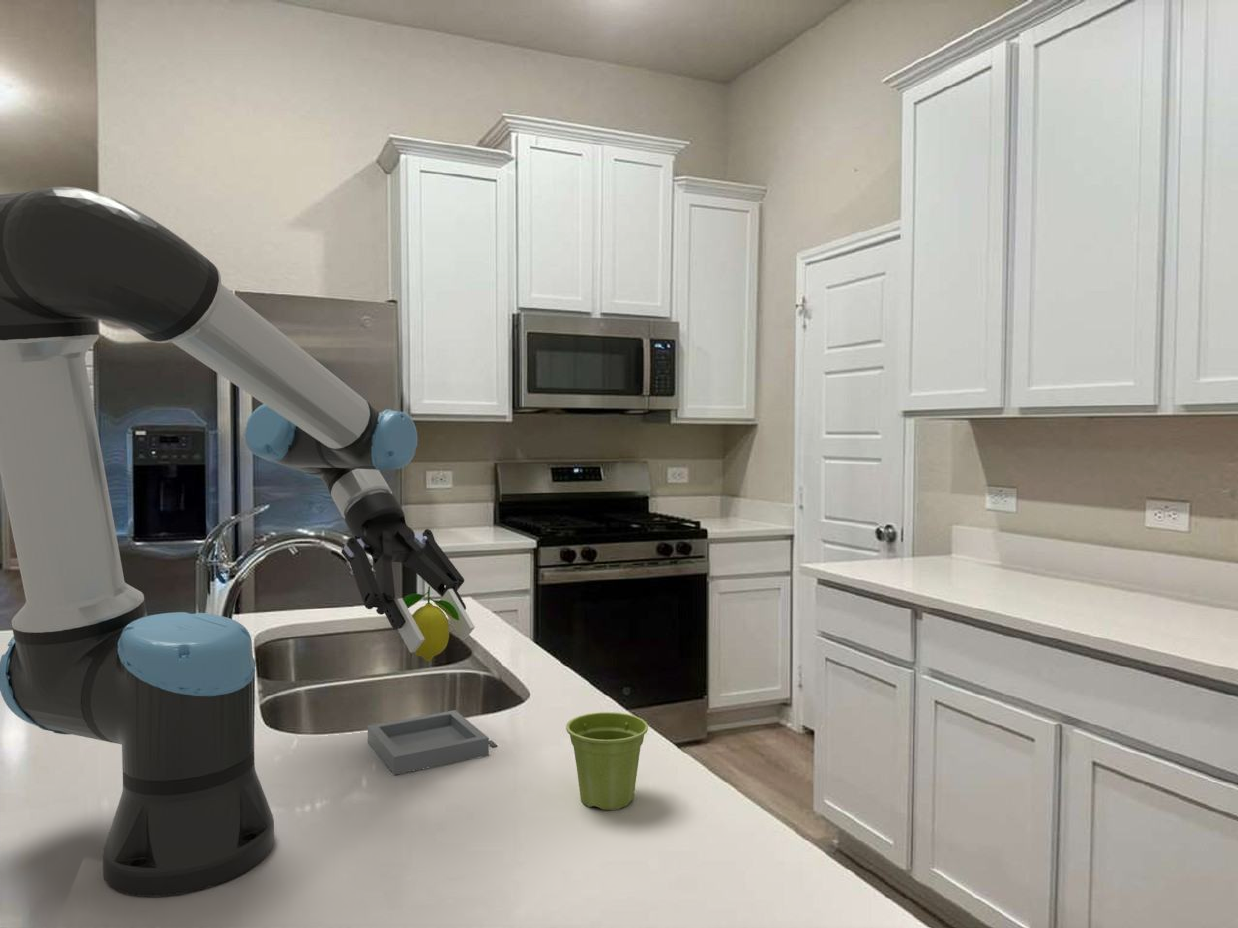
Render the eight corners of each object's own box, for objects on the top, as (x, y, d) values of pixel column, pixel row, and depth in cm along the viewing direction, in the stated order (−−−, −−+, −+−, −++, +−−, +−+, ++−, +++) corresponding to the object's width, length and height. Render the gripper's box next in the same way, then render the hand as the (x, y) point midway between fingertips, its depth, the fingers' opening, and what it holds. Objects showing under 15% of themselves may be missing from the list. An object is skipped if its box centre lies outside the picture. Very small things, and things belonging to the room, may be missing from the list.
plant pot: (554, 789, 99) (555, 717, 98) (627, 776, 103) (628, 707, 102) (583, 824, 90) (583, 745, 90) (661, 809, 94) (662, 733, 94)
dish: (488, 755, 109) (488, 737, 109) (394, 775, 102) (394, 756, 102) (455, 725, 120) (455, 710, 119) (367, 742, 113) (367, 725, 113)
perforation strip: (497, 746, 112) (497, 744, 112) (492, 747, 112) (492, 745, 112) (472, 725, 120) (472, 724, 120) (468, 726, 119) (468, 725, 119)
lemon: (392, 664, 109) (393, 588, 108) (415, 653, 114) (416, 581, 114) (438, 669, 107) (439, 591, 107) (459, 658, 112) (461, 584, 112)
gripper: (416, 518, 127) (488, 641, 118) (291, 531, 111) (363, 673, 102) (438, 485, 124) (515, 609, 114) (313, 493, 108) (389, 638, 98)
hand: (443, 639), depth 108 cm, fingers closed on lemon, 8 cm apart
